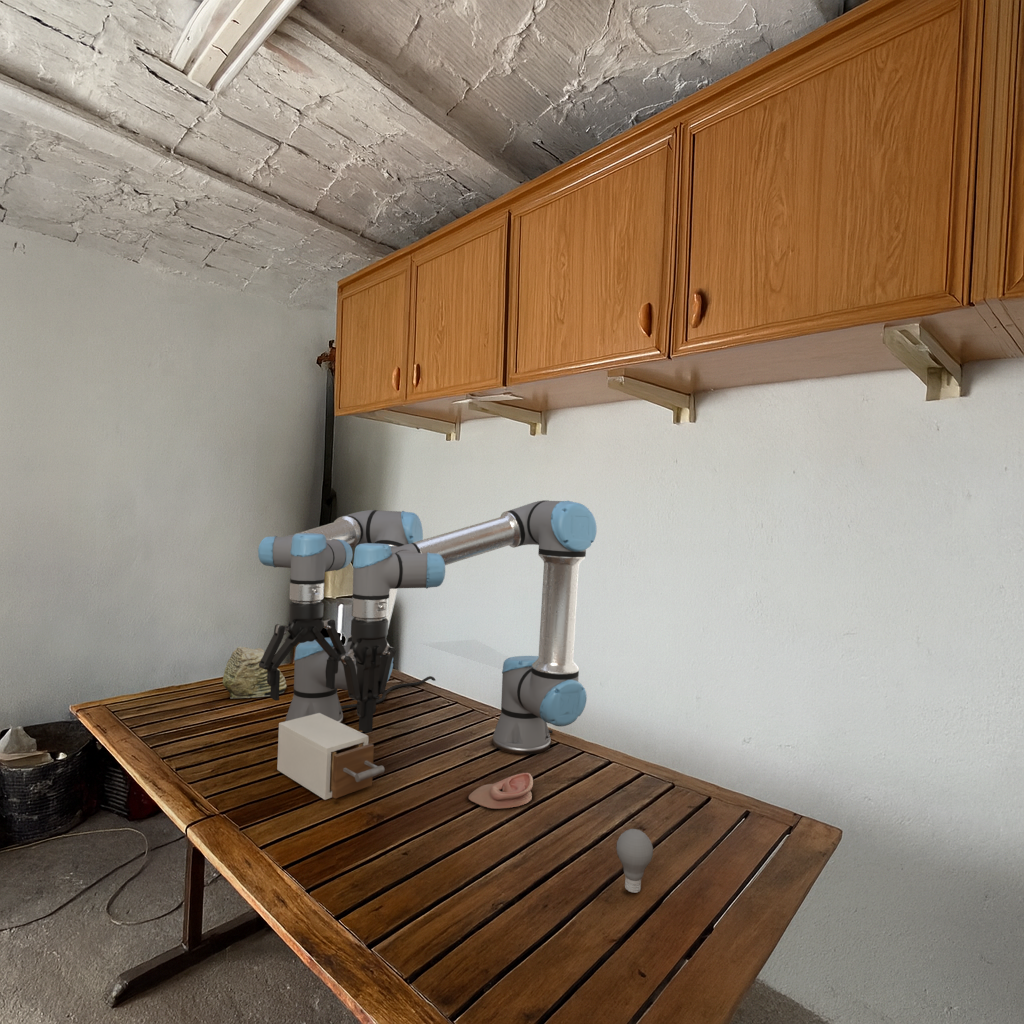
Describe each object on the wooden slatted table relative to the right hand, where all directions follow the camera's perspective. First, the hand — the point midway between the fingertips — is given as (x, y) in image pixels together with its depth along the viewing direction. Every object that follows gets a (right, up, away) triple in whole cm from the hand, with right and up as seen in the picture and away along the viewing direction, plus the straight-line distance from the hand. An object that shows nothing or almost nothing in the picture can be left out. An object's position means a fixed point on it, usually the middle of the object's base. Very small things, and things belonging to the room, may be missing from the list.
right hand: (365, 730), depth 132 cm
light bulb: (+51, -18, -27) cm, 60 cm away
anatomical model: (+28, -16, +5) cm, 33 cm away
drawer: (-8, -14, +7) cm, 17 cm away
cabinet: (-13, -14, +11) cm, 22 cm away
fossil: (-50, -12, +66) cm, 84 cm away
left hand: (-17, +4, +13) cm, 22 cm away
